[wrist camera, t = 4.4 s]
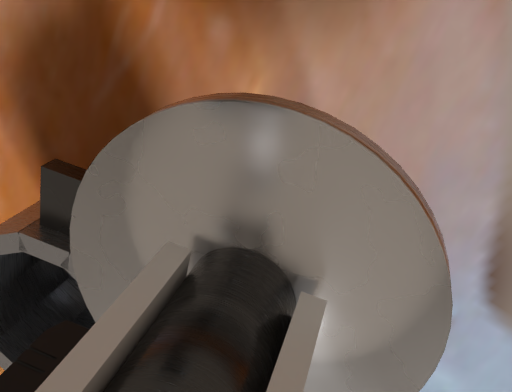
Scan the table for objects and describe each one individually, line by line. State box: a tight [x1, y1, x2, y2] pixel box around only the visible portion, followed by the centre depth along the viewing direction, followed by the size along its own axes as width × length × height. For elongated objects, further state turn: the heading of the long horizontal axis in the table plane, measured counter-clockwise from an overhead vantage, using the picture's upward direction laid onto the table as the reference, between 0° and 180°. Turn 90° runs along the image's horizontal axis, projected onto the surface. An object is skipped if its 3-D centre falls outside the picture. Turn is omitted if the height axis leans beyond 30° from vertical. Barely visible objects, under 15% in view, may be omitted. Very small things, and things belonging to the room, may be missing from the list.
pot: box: [0, 159, 95, 370], centre depth 28 cm, size 16×10×9 cm, turn 167°
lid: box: [70, 93, 453, 392], centre depth 13 cm, size 12×12×10 cm
